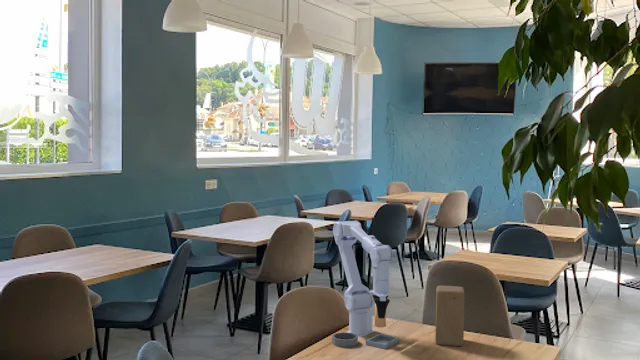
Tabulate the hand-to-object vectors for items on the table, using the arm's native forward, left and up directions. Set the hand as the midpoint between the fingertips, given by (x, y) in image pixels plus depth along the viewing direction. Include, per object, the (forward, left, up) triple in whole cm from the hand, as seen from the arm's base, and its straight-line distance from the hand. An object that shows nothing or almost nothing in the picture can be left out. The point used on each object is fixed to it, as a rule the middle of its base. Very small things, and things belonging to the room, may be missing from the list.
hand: (380, 316), depth 222 cm
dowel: (0, 0, -3) cm, 3 cm away
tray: (-1, 0, -10) cm, 10 cm away
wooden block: (-19, +18, -11) cm, 28 cm away
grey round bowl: (+7, -11, -10) cm, 17 cm away
